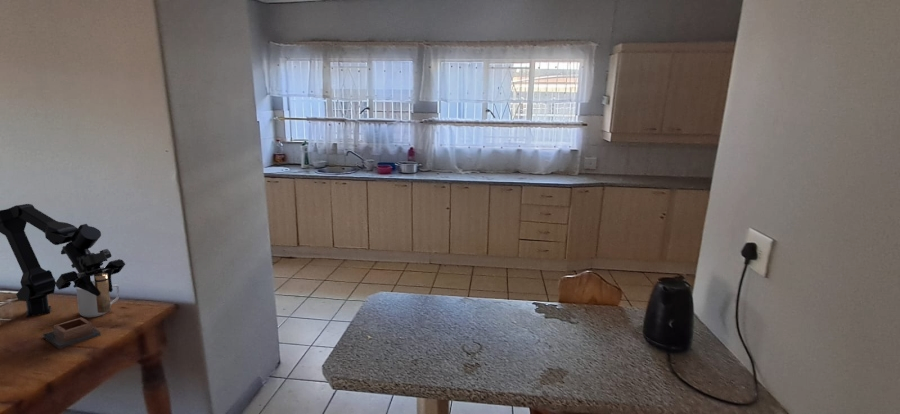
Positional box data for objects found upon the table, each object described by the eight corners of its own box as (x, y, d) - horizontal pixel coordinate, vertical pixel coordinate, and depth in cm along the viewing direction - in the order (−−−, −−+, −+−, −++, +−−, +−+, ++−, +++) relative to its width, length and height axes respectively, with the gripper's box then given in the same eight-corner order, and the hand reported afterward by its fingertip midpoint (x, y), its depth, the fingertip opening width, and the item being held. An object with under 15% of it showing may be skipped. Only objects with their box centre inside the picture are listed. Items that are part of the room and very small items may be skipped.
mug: (80, 320, 154) (76, 291, 152) (78, 311, 160) (75, 283, 158) (121, 312, 162) (119, 284, 160) (119, 304, 168) (116, 277, 166)
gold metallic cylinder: (97, 309, 148) (93, 274, 146) (110, 307, 150) (107, 272, 148) (97, 313, 145) (94, 277, 143) (111, 311, 148) (107, 275, 145)
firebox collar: (43, 337, 142) (41, 326, 141) (84, 324, 151) (83, 314, 150) (59, 348, 136) (57, 337, 135) (100, 334, 145) (99, 324, 145)
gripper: (57, 250, 136) (83, 290, 135) (119, 237, 153) (143, 272, 152) (44, 269, 140) (69, 308, 139) (106, 254, 157) (129, 288, 156)
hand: (105, 293), depth 146 cm, fingers closed on gold metallic cylinder, 4 cm apart
